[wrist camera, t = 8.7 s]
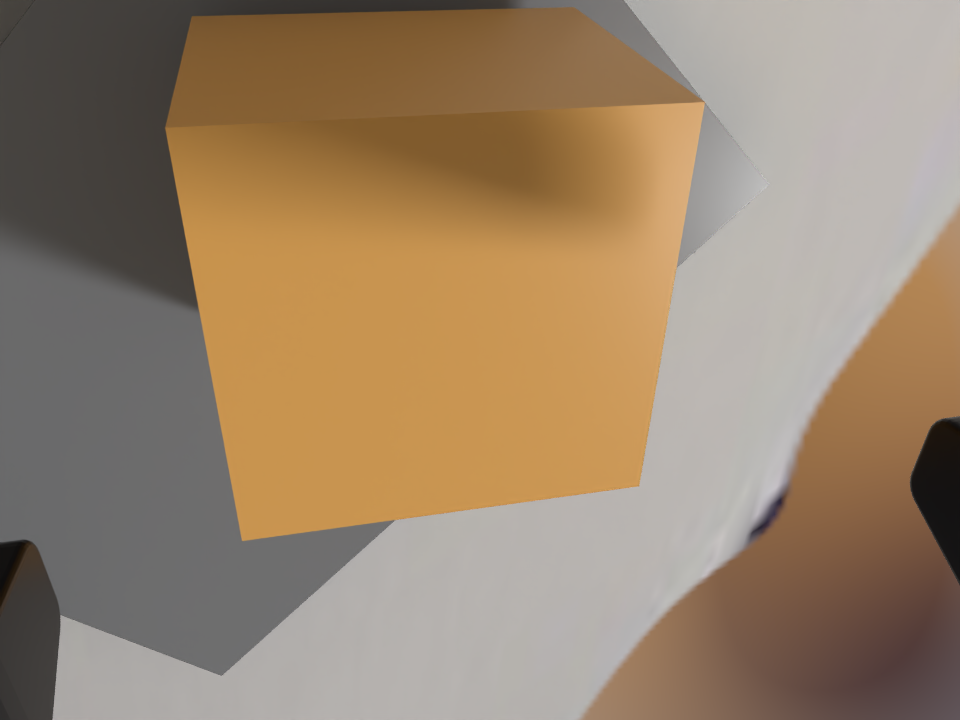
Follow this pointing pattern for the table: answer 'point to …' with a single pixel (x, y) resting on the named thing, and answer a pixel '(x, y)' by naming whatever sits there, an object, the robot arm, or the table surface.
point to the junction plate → (164, 328)
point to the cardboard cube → (428, 255)
